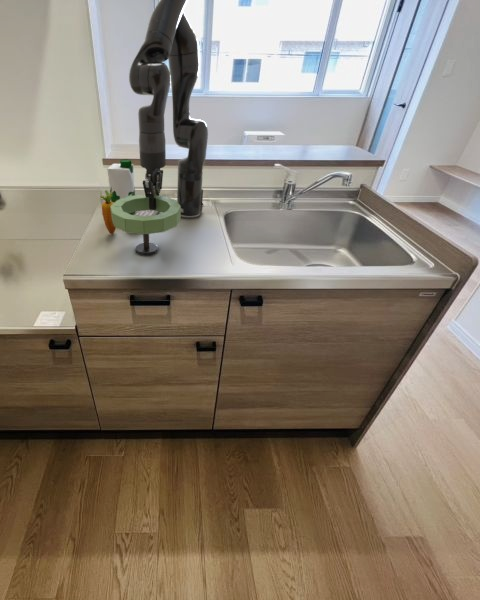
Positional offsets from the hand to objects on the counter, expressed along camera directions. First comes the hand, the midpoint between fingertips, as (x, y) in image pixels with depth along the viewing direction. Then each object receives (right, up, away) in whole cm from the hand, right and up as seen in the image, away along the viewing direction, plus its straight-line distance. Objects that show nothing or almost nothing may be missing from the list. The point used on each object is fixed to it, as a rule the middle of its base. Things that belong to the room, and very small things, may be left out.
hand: (154, 206), depth 101 cm
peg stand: (-2, -14, 0) cm, 14 cm away
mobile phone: (-5, +1, +20) cm, 20 cm away
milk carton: (-14, +4, +24) cm, 28 cm away
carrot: (-15, -7, +9) cm, 19 cm away
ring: (-2, -6, -6) cm, 9 cm away
